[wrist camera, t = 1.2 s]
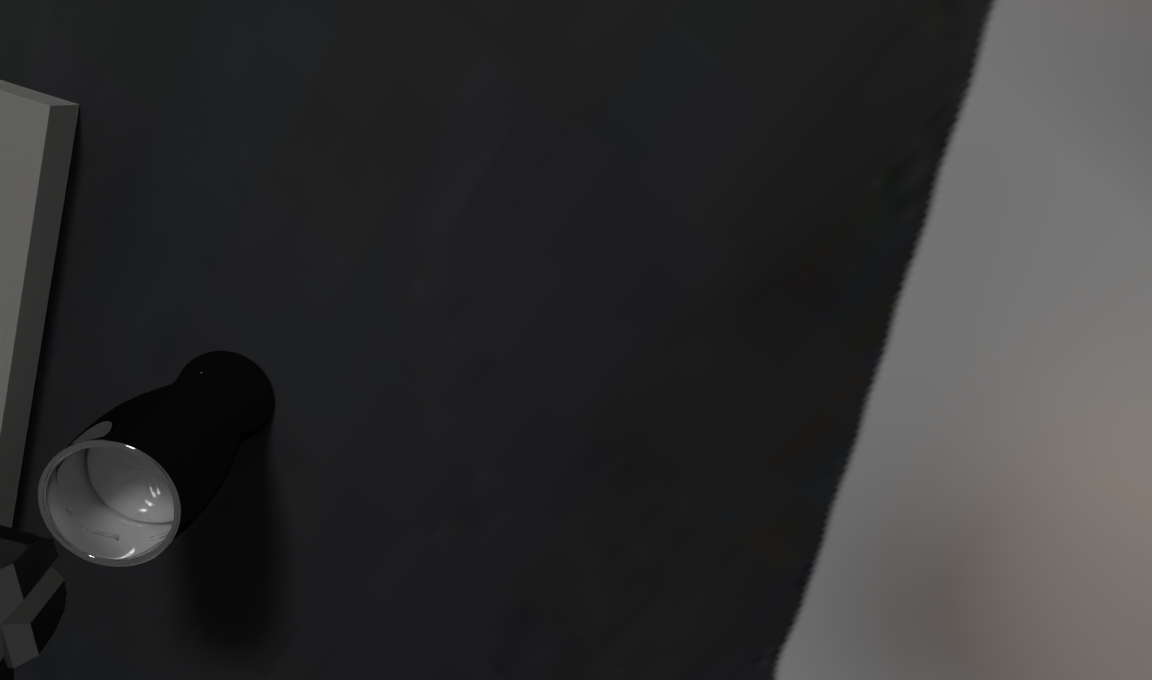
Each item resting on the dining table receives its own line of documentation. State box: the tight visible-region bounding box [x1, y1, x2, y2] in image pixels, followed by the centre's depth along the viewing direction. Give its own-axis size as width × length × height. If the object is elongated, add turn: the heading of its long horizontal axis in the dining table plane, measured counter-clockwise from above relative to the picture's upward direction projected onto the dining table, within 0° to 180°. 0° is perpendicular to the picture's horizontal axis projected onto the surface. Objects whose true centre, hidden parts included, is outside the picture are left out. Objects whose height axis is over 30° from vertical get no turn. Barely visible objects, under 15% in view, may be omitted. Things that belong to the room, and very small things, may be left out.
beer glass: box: [38, 351, 274, 567], centre depth 47 cm, size 7×7×15 cm
